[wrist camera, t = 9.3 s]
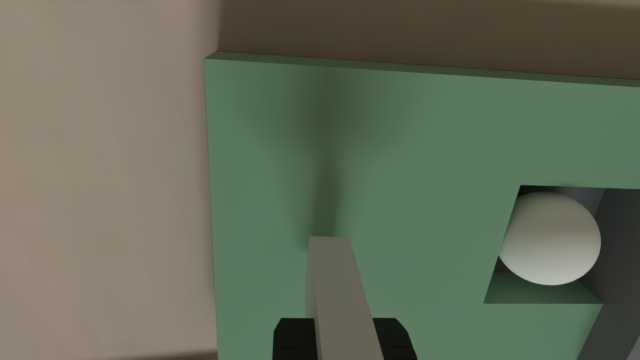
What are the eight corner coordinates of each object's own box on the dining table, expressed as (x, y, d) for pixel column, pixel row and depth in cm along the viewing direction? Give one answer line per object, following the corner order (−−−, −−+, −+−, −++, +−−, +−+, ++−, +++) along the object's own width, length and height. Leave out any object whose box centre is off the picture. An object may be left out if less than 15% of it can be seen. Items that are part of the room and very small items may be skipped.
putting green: (226, 328, 20) (210, 410, 16) (217, 51, 14) (188, 66, 10) (576, 327, 22) (642, 399, 18) (688, 83, 16) (820, 107, 12)
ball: (504, 238, 20) (467, 267, 17) (529, 169, 18) (491, 190, 16) (590, 279, 17) (561, 321, 15) (628, 203, 16) (603, 236, 13)
